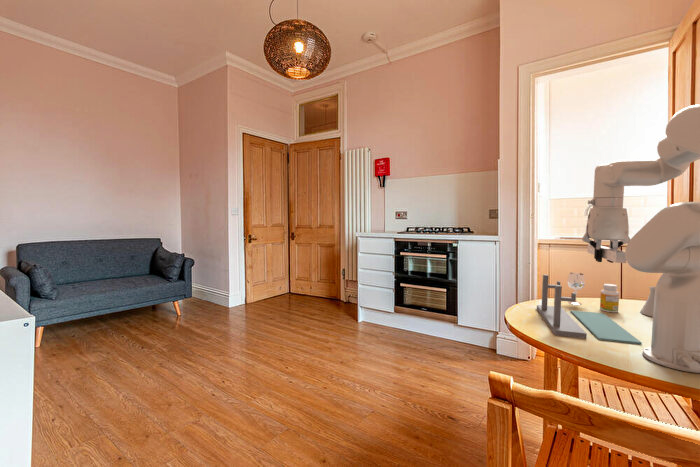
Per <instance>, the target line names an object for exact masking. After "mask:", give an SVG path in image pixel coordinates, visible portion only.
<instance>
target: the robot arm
mask: <svg viewBox="0 0 700 467" xmlns="http://www.w3.org/2000/svg"><path fill="white" fill-rule="evenodd" d="M656 150H657V155H658V157H656V158H653V159H647V158H646V159H618V160H613V161H611V162H610V163H604V164H603V163H602V164H599V165H597V166H596V167H595V168H594V182H593V198H591V199H588V200H587V205H591V207H592V208H590V209H589V212H588V216H587V221H586V228H585V233H584V235H583V236H582V237H581V241H582V242H585V243H587V244H590V245H591V246H592V247H593V248H595V253H594V255H593V257H594V259H595V262H597V263H601V262H603V258H602V250H601V246H602V241H609V247H608V248H612V249H616V250H618V249H619V248H620V247H622V246H623V245H626V247H625V249H624V250H625V251H624V252H625V258H626V264H628V265H629V266H630V267H631V268H632V269H634V270H635V271H638V272H641V273H646V274H647V273H649V274H661V275H660V277H659V278H658V280H657V283H656V285H655V287H656V288H655V296H654V310H653V317H652V327H651V340H650V341H651V342H650V343H651V344H650V346H646V347H644V348H643V349H642V355H643V357H645V358H646V359H647V360H649V361H651V362H653V363H654V364H655V363H656V364H658V365H660V366H663V367H667V368H670V369H674V370H678V371H682V372H687V373H694V374H700V201H685V202H677V203H673V204H670V205H668V206H666V207H664V208H662V209H661V210H659V211H658V212H657V213H656V214H655V215H654V216H653V217H652V218H651V219H650V220H649V221H647V222H646V223H645V224H644V225H643V226H642V227H641V228H640V229H639V230H638V231H637V232H636V233H635V234H634V235H633V236H632V237H631V238H630V236H629V234H630V233H629V232H630V231H629V226H630V225H629V216H628V209H627V208H626V207H624V197H625V196H624V194H625V187H631V186H632V187H639V186H640V187H651V186H657V185H659V184H663V183H665V182H669V181H670V180H674V179H675V178H678V177H680V176H681V175H683V174H684V172H686V171H687V169H688V168H689V166H690V165H691V163H694V162H696V161H698V160H700V104H695V105H694V104H693V105H690V106H688V107H685V108H682V109H680V110H678V112H676V113H675V114H674V115H673V116H672V117H671V118H670V119H669V121H668V122H667V124H666V127H665V135H664V136H663V137H662V138H661V139H660V140H659V141H658V144H657V147H656ZM606 261H607V262H609V263H614V262H613V261H610V260H607V259H606Z"/></svg>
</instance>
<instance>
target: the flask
mask: <svg viewBox="0 0 700 467" xmlns="http://www.w3.org/2000/svg"><path fill="white" fill-rule="evenodd" d="M648 288H649V289H650V292H649V295H648V298H647V299H646V301H645V303H644V304H643V306H642V308H641V309H640V314H642V315H645V316H648V317H652V318H653V310H654V296H655V288H656V286H649V287H648Z"/></svg>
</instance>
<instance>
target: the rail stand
mask: <svg viewBox="0 0 700 467" xmlns="http://www.w3.org/2000/svg"><path fill="white" fill-rule="evenodd" d="M541 287H542V288H541V304H539V305H538V304H537V305H536V309H537V310H536V311H537V312H538V313H539V314H540V316H541V318H543V321H544V322H545V323H546V324H547V326H548V327H549V329H550V330H551V331H552V333H553V335H554V336H561V337H571V338H578V339H587V332H586V331H585V330H584V329H583V328H582V327H581V326H580V325H579V324H578V323H577V322H576V320H574V318H572V317H571V315H569V313H568V312H567V311H565V309H564V308H563V307H562V302H575V301H577V294H575V293H574V292H571V296H562V292H563V291H562V288H563V286H562V285H561V281H560V280H557V281H556V284H549V274H542V286H541ZM549 289H554V297H553V298H554V299H553V300H554V301H553V306H551V305H548V298H549V296H548V293H549Z"/></svg>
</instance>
